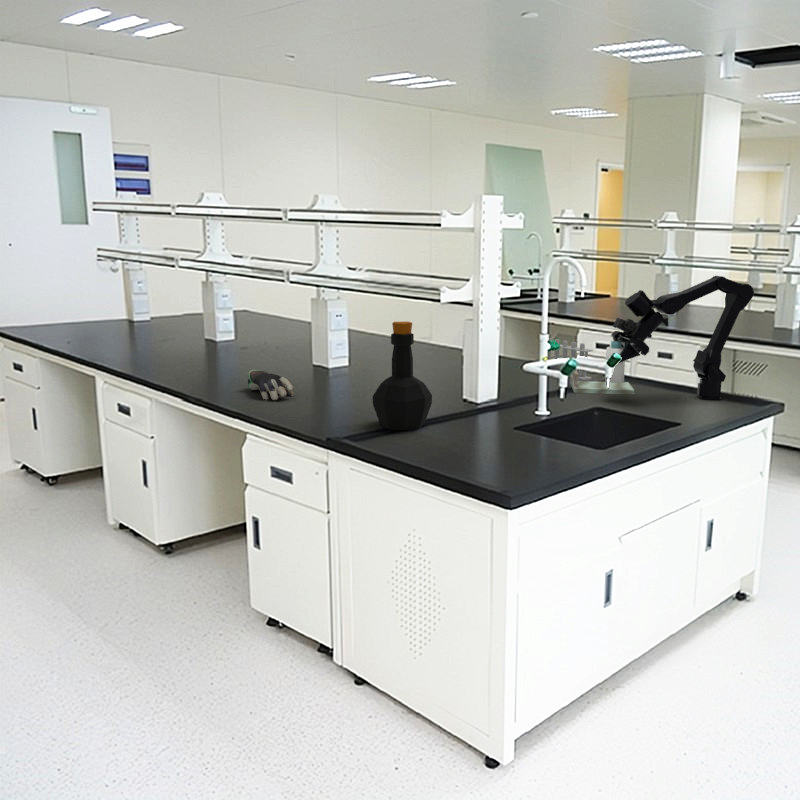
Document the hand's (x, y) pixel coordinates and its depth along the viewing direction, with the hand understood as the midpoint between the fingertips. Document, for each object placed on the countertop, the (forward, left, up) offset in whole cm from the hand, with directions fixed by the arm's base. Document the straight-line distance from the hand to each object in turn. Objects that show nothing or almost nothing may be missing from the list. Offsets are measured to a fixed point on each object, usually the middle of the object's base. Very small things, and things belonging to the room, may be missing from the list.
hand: (611, 361), depth 266 cm
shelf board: (0, -19, -13) cm, 23 cm away
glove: (+113, +3, -14) cm, 114 cm away
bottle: (+63, +41, -13) cm, 77 cm away
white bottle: (-1, 0, -7) cm, 7 cm away
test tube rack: (+11, -47, -14) cm, 50 cm away
